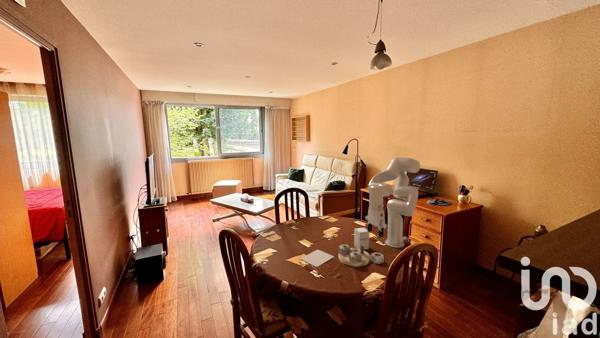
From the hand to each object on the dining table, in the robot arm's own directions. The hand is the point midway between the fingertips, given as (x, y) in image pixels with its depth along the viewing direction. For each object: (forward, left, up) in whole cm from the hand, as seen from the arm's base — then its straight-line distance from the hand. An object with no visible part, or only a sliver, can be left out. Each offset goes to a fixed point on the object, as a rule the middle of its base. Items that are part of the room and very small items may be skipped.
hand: (375, 234), depth 141 cm
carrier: (+9, -8, -17) cm, 21 cm away
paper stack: (+32, -13, -18) cm, 38 cm away
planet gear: (-1, +1, -17) cm, 17 cm away
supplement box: (-4, -18, -17) cm, 25 cm away
